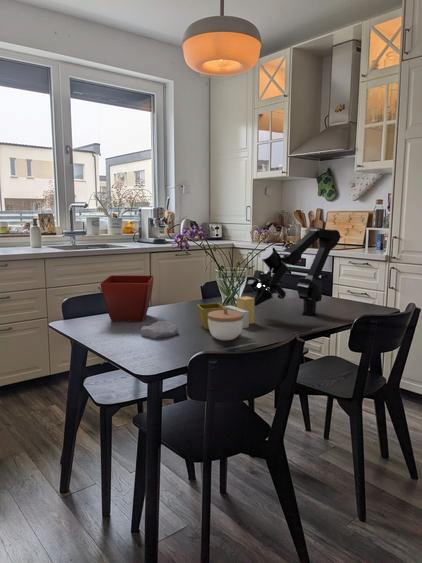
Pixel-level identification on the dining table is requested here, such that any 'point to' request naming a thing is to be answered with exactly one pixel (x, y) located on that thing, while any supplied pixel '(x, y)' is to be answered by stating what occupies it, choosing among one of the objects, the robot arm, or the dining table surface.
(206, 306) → the flower pot
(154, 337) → the stone block
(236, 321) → the lidded bowl
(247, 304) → the block
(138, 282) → the plant pot
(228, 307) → the wall
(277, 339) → the dining table surface
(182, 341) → the dining table surface
